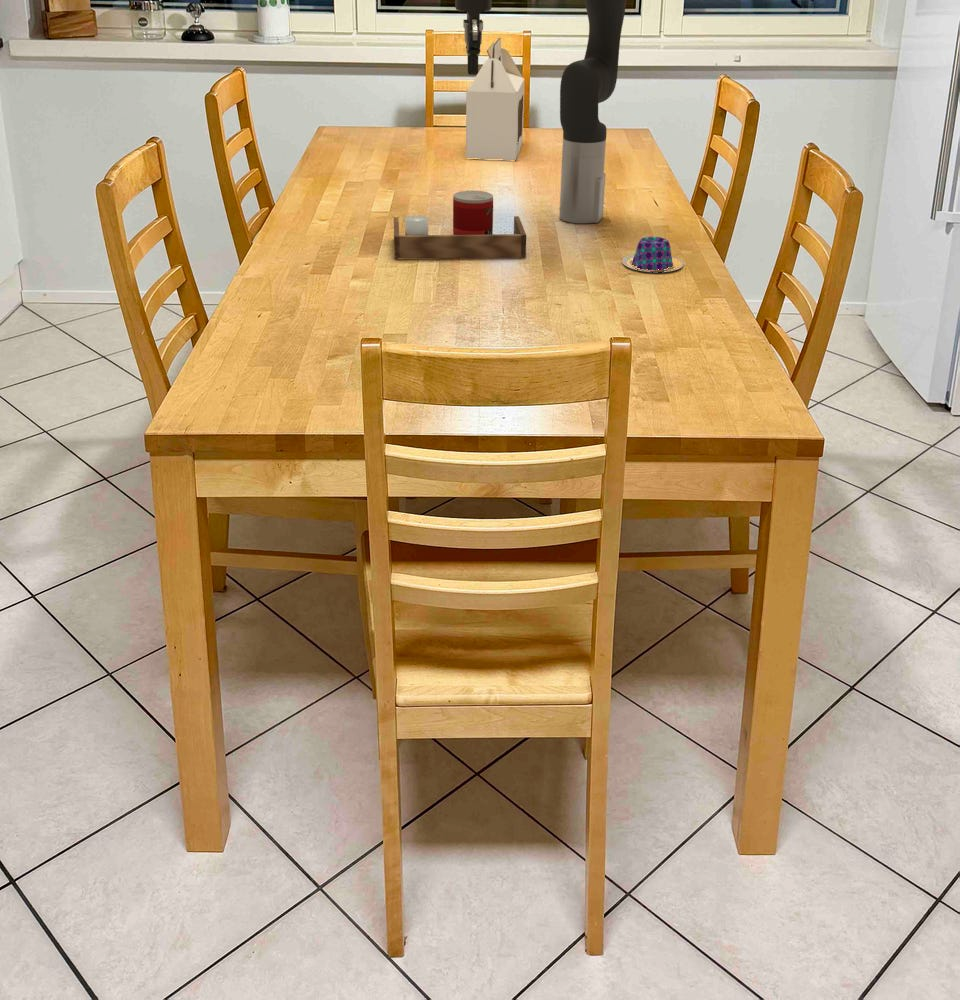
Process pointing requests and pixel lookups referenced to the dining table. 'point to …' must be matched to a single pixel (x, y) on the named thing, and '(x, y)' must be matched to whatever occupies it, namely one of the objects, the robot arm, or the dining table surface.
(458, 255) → the u-shaped frame
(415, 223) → the grey rounded capsule
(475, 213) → the canned food
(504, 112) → the gable box
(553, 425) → the dining table surface
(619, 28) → the robot arm
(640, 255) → the patterned hat
